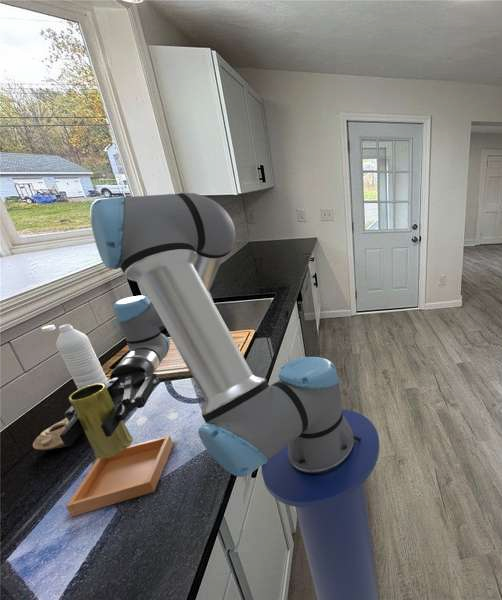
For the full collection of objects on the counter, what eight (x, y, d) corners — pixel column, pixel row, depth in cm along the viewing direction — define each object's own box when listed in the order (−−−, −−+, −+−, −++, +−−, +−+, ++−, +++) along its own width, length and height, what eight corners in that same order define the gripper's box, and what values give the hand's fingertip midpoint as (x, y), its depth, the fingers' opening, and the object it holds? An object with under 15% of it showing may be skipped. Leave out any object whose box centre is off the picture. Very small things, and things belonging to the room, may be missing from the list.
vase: (140, 438, 68) (115, 383, 63) (111, 461, 62) (81, 403, 57) (118, 434, 69) (92, 380, 64) (87, 457, 63) (56, 400, 58)
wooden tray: (173, 444, 77) (169, 435, 76) (154, 491, 65) (149, 481, 64) (105, 462, 73) (100, 452, 72) (71, 516, 61) (65, 506, 60)
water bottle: (119, 391, 98) (86, 319, 89) (103, 405, 92) (66, 329, 83) (89, 394, 97) (53, 322, 88) (71, 408, 91) (31, 332, 82)
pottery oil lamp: (106, 415, 87) (99, 402, 83) (72, 460, 78) (63, 448, 74) (68, 411, 85) (60, 397, 81) (30, 456, 76) (17, 443, 72)
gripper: (182, 374, 83) (151, 436, 62) (96, 391, 77) (31, 466, 57) (173, 349, 80) (138, 406, 60) (83, 365, 74) (10, 434, 54)
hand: (86, 435), depth 58 cm, fingers closed on vase, 5 cm apart
